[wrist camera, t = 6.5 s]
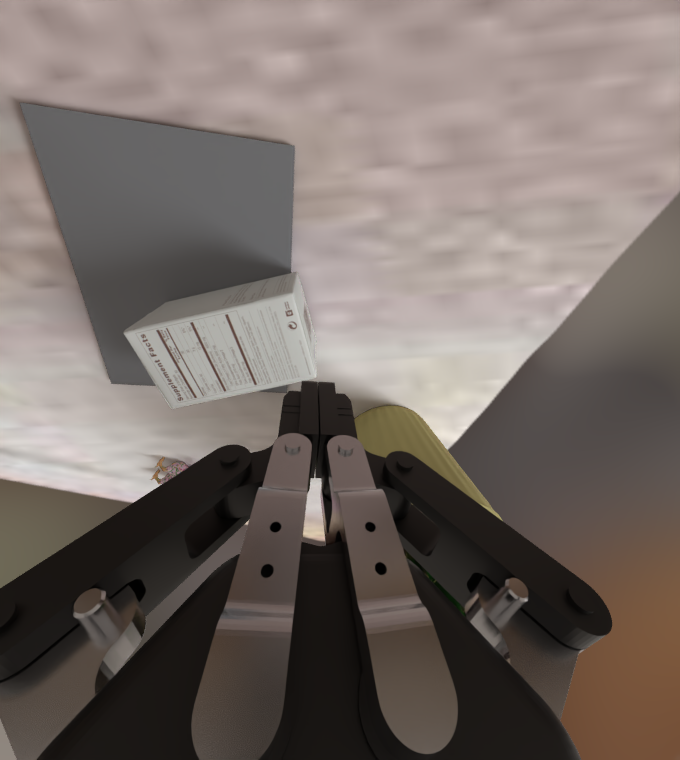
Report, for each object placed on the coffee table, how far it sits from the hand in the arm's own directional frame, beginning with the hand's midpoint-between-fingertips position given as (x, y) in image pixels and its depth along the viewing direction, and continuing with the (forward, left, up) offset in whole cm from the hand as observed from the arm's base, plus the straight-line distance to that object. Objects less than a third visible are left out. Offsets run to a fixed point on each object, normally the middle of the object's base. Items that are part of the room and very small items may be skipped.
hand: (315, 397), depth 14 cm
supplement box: (+1, 0, -13) cm, 13 cm away
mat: (0, -11, -17) cm, 21 cm away
